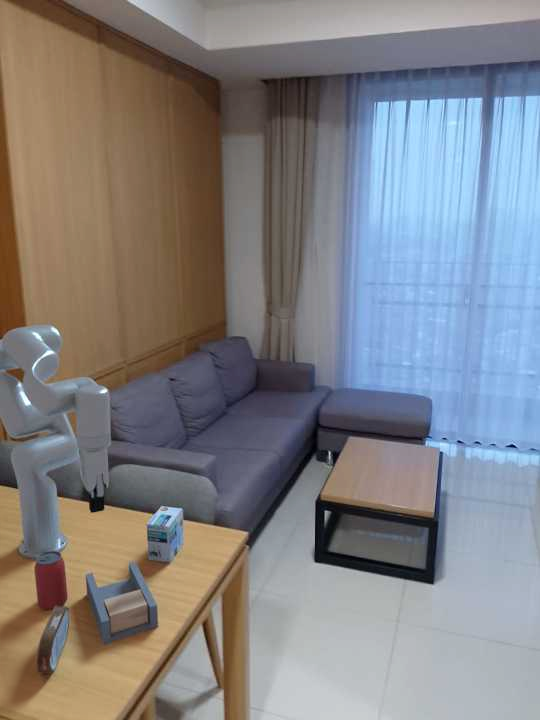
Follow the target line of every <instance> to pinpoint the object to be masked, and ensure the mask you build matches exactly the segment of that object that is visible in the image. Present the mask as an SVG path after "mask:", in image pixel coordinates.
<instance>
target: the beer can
mask: <svg viewBox="0 0 540 720" xmlns="http://www.w3.org/2000/svg"><path fill="white" fill-rule="evenodd" d="M65 565H66V564H65V560H64V558H63V556H62V553H61V552H60V551H59V552H57V551H48V552H45V553H42V554H41V555H39V556H38V557H37V558H36V559H35V565H34V570H33V571H34V579H35V587H36V597H37V605H38V606H39V608H41V609H42V610H44V611H45V610H46V611H50V610H51V611H53V609H54V607H55V606H63V605H65V603H66V602H67V600H68V588H67V575H66V566H65Z"/></svg>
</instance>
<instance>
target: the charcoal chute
mask: <svg viewBox="0 0 540 720" xmlns="http://www.w3.org/2000/svg"><path fill="white" fill-rule="evenodd" d="M128 575H129V578H128V579H125V580H121V581H117V582H114V583H111V584H110V583H109V584H106V585H103V586H100V587H98V584H97V582H96V579H95V577H94V574H93V572H89V573H86V574H85V582H86V583H85V584H86V585H85V587H86V596H87V599H88V601H89V605H90V607H91V611H92V614H93V617H94V620H95V623H96V627H97V629H98V632H99V635H100V638H101V641H102V644H103V645H106V644H110V643H112V642H116V641H119V640H121V639H125V638H128V637H130V636H133V635H136V634H140V633H143V632H147V631H149V630H152V629H156V628H158V627H159V619H158V604H157V602H156V600H155V598H154V596H153V594H152V593H151V590H150V588H149V586H148V584H147V582H146V580H145V578H144V576H143V574H142V572H141V571H140V569H139V566H138V564H137V562H136V561H131V562H129V563H128ZM136 590H141V592H142V594H143V596H144V598H145V601H146V603H147V608H148V622H147V623H144V624H140V625H137V626H134V627H131V628H128V629H125V630H122V631H119V632H115V633H112V634H111V632H110V621H109V617H108V615H107V612H106V609H105V606H104V600H105V599H109V598H112V597H116V596H119V595H122V594H126V593H129V592H133V591H136Z"/></svg>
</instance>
